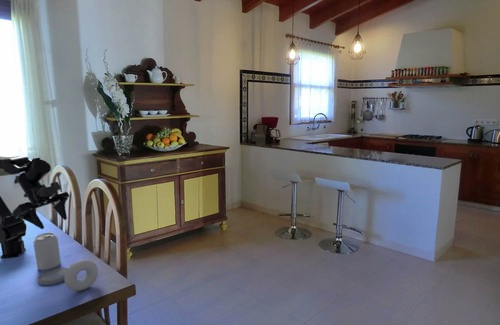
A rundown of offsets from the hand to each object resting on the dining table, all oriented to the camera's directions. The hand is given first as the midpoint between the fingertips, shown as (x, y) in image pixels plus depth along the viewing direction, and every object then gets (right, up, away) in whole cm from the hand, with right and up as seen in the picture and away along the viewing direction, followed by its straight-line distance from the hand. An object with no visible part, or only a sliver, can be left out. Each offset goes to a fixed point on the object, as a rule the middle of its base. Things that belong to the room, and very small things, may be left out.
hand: (54, 223), depth 123 cm
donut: (+17, -19, -14) cm, 29 cm away
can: (-3, -16, +2) cm, 16 cm away
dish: (+4, -17, -6) cm, 19 cm away
